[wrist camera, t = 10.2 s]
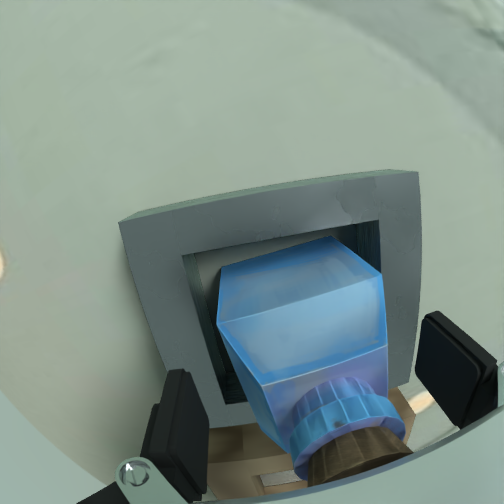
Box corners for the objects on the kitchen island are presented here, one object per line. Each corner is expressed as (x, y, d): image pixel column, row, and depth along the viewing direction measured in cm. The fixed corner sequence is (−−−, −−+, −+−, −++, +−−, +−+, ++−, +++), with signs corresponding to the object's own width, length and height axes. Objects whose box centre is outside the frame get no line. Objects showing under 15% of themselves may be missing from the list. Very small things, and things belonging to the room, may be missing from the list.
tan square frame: (397, 386, 20) (415, 414, 16) (378, 468, 24) (387, 491, 20) (197, 429, 20) (194, 464, 16) (235, 499, 24) (236, 524, 20)
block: (389, 169, 15) (418, 171, 12) (390, 357, 19) (408, 382, 16) (138, 211, 15) (118, 222, 12) (196, 398, 19) (193, 429, 16)
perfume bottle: (252, 356, 18) (275, 538, 6) (221, 266, 16) (207, 464, 5) (346, 327, 18) (441, 480, 6) (330, 235, 16) (486, 363, 5)
